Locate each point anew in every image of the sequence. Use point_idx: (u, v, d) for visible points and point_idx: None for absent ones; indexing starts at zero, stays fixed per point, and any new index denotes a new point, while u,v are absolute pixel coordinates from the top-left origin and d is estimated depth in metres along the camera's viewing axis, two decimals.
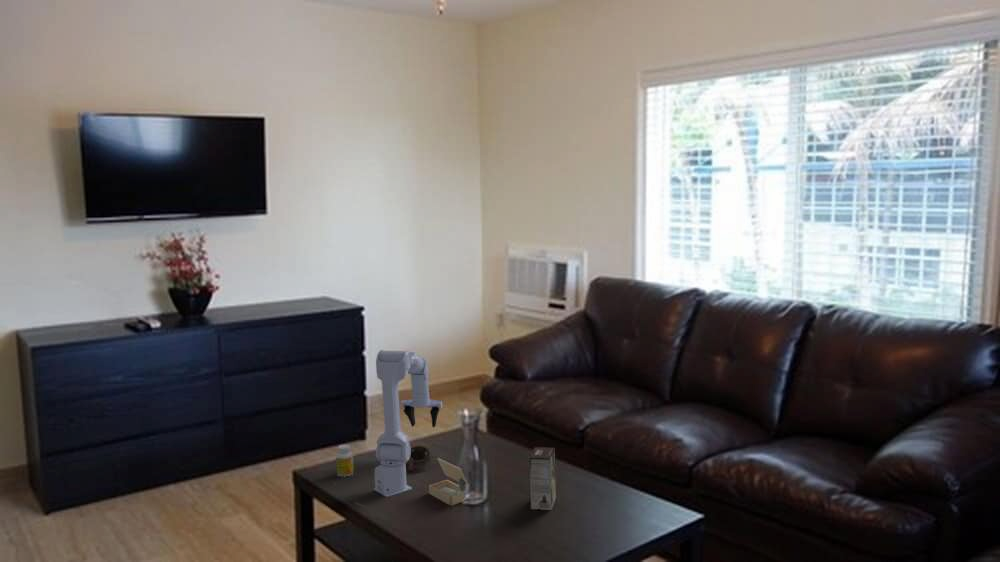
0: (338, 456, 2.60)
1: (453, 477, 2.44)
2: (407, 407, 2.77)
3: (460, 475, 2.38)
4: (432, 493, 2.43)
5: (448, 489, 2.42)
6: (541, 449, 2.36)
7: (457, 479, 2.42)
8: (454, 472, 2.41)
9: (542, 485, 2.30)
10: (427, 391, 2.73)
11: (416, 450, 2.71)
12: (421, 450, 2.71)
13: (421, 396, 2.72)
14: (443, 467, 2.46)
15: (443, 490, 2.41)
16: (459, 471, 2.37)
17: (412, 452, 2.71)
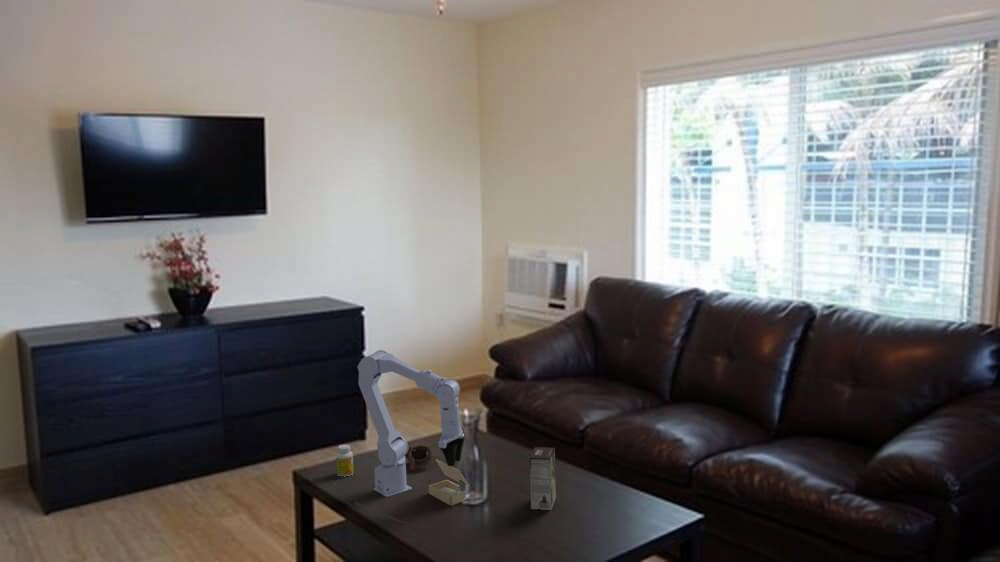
0: (338, 456, 2.60)
1: (453, 477, 2.44)
2: None
3: (460, 476, 2.38)
4: (432, 493, 2.43)
5: (448, 489, 2.42)
6: (541, 449, 2.36)
7: (457, 479, 2.42)
8: (453, 473, 2.41)
9: (542, 485, 2.30)
10: (444, 422, 2.37)
11: (417, 450, 2.71)
12: (422, 450, 2.72)
13: None
14: (442, 468, 2.45)
15: (443, 490, 2.41)
16: (458, 472, 2.37)
17: (413, 452, 2.71)
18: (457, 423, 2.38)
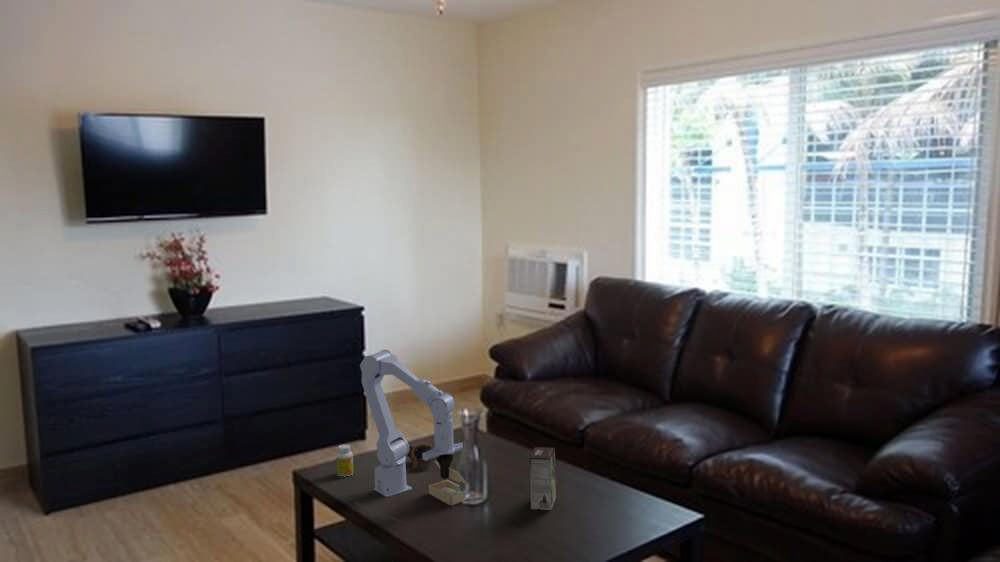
0: (338, 456, 2.60)
1: (452, 478, 2.44)
2: None
3: (459, 477, 2.38)
4: (432, 493, 2.43)
5: (448, 489, 2.42)
6: (541, 449, 2.36)
7: (456, 480, 2.42)
8: (452, 474, 2.40)
9: (542, 485, 2.30)
10: (435, 435, 2.37)
11: (420, 449, 2.72)
12: (424, 449, 2.72)
13: None
14: None
15: (443, 490, 2.41)
16: (456, 474, 2.37)
17: (416, 451, 2.72)
18: (446, 439, 2.36)
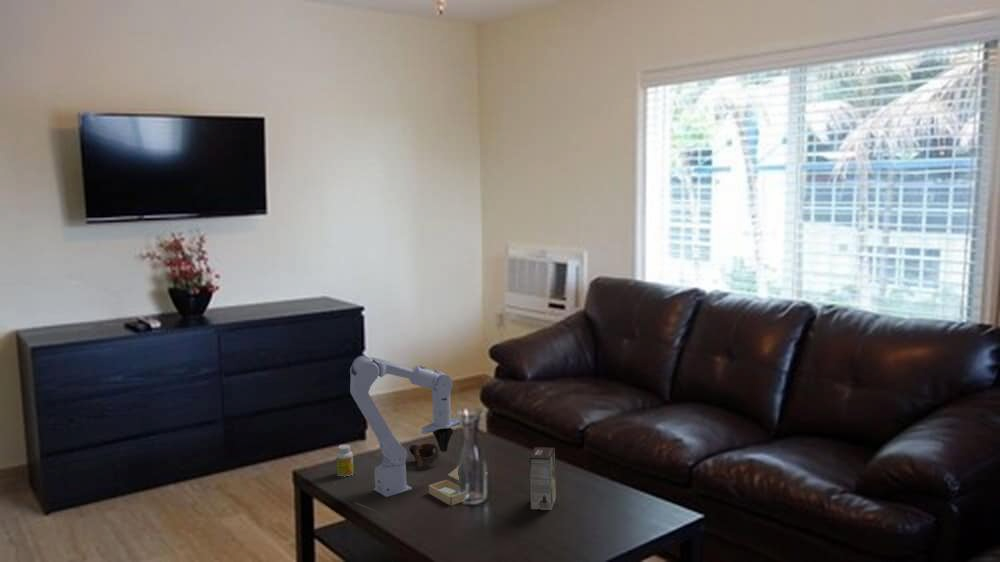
0: (338, 456, 2.60)
1: None
2: None
3: None
4: (432, 493, 2.43)
5: (448, 489, 2.42)
6: (541, 449, 2.36)
7: None
8: None
9: (542, 485, 2.30)
10: (433, 411, 2.51)
11: (424, 447, 2.73)
12: (429, 447, 2.74)
13: None
14: None
15: (443, 490, 2.41)
16: None
17: (420, 449, 2.73)
18: (444, 414, 2.50)
